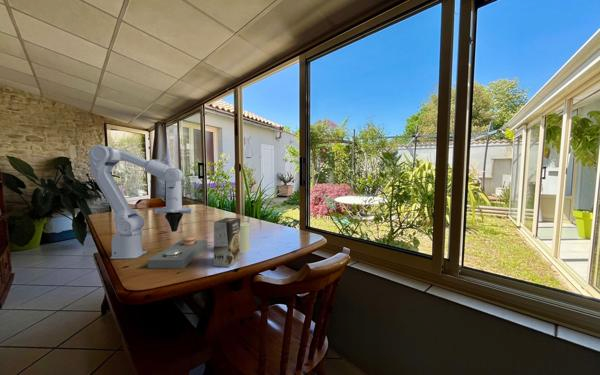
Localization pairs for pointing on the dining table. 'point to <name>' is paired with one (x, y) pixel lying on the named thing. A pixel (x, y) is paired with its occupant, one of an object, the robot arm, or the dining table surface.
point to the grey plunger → (173, 253)
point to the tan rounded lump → (188, 241)
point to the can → (244, 237)
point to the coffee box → (226, 242)
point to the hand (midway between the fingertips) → (174, 231)
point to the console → (182, 260)
